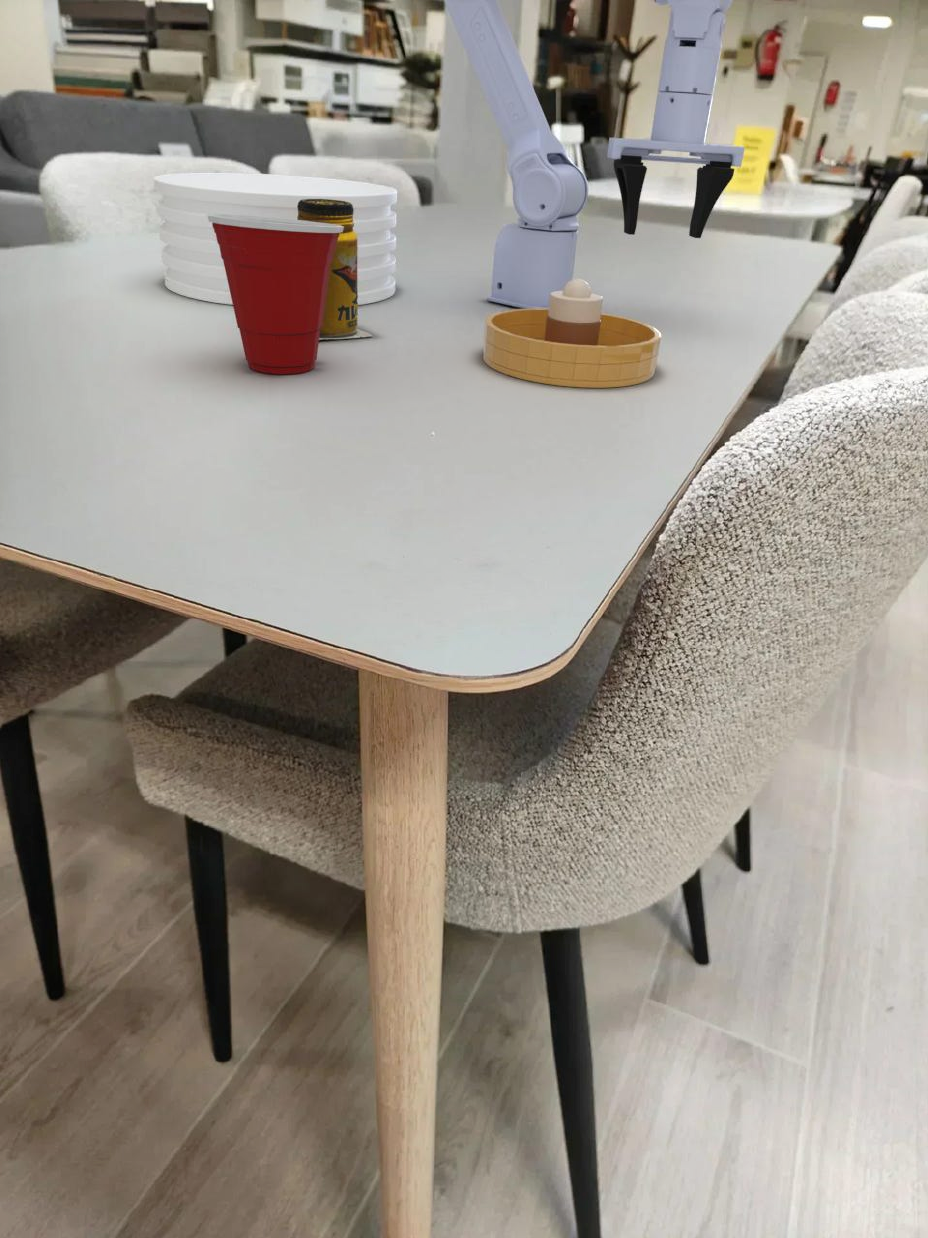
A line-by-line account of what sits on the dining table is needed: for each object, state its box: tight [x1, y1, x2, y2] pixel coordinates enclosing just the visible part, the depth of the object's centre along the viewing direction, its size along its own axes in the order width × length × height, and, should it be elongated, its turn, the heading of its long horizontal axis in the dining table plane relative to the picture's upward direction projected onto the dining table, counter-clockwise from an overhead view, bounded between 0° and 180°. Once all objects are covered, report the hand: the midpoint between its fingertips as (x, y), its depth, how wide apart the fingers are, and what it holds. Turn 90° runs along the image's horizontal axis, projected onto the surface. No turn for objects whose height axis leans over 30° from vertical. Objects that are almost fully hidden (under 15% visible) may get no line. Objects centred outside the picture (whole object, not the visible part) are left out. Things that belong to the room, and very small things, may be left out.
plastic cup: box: [207, 214, 344, 375], centre depth 72 cm, size 11×11×12 cm
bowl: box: [482, 308, 662, 389], centre depth 81 cm, size 16×16×4 cm
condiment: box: [297, 199, 373, 341], centre depth 84 cm, size 7×8×12 cm
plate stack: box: [153, 172, 398, 306], centre depth 104 cm, size 28×28×12 cm
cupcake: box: [544, 278, 604, 346], centre depth 79 cm, size 5×5×7 cm
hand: (662, 235), depth 97 cm, fingers open, 7 cm apart
